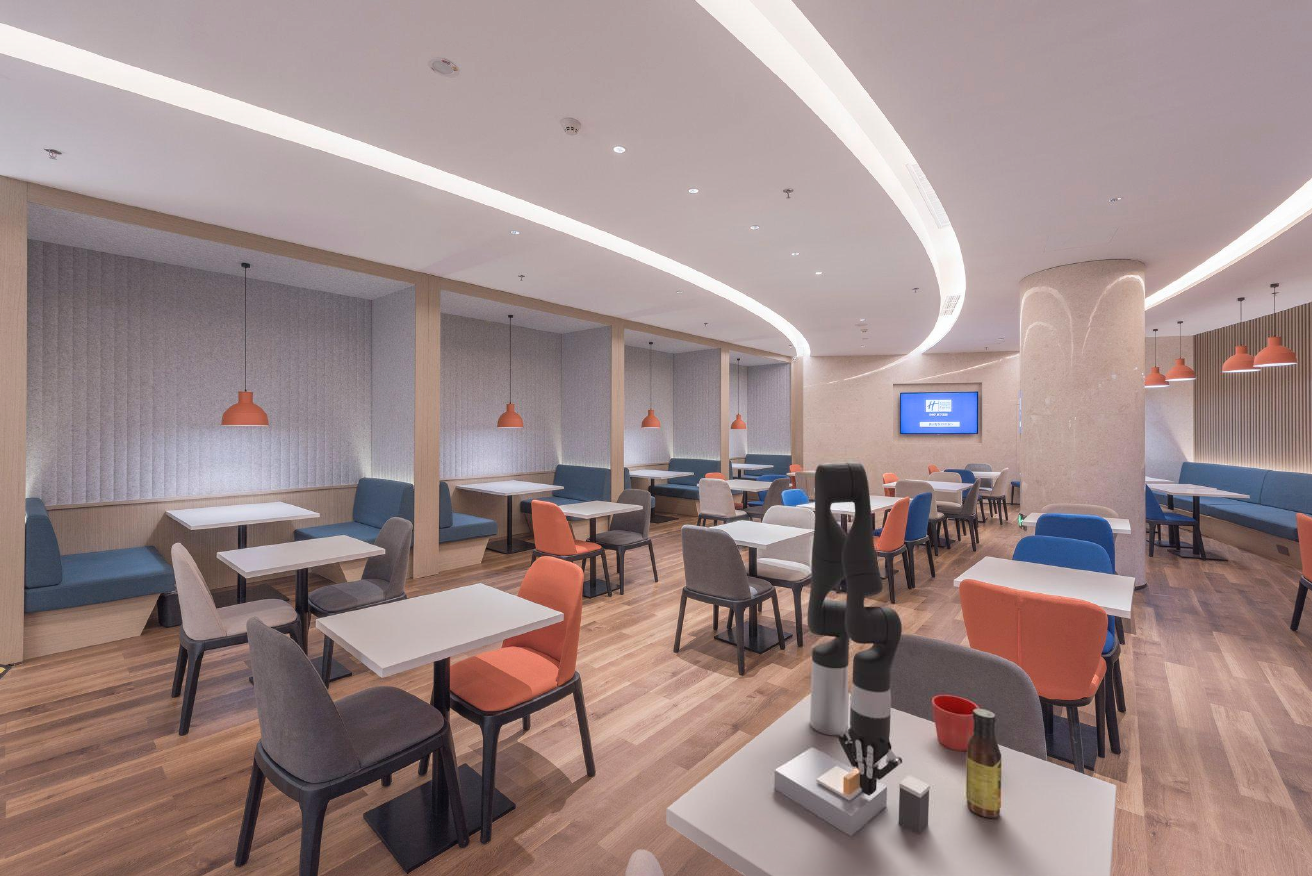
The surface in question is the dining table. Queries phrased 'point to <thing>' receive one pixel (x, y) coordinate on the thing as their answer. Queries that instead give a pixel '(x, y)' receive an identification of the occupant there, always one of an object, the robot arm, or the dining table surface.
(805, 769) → the socket block
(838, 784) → the shutter
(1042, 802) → the dining table surface
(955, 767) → the dining table surface
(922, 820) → the plug
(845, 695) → the robot arm
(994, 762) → the sauce bottle
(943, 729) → the flower pot
